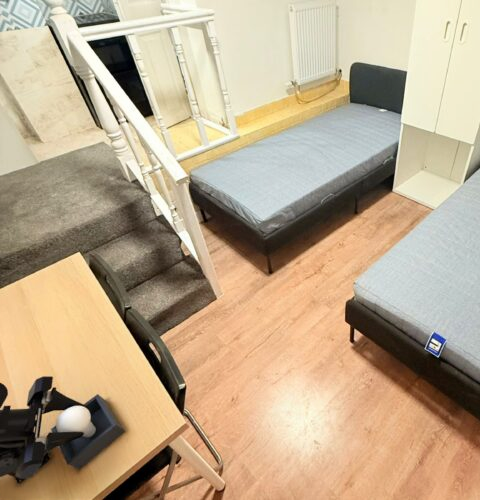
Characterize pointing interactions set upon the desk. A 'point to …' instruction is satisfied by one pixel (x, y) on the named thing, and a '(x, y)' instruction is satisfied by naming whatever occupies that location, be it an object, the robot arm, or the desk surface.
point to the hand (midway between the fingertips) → (83, 420)
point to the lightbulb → (76, 421)
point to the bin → (105, 434)
